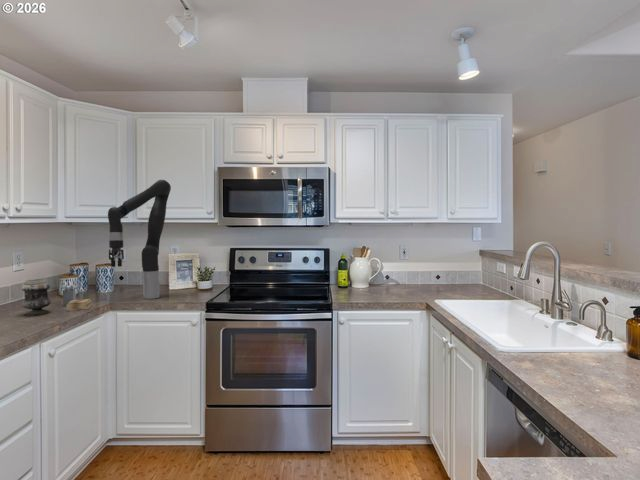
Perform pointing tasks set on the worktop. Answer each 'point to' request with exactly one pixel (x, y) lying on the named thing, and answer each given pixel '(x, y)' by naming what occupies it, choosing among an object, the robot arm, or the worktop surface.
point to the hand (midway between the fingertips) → (116, 266)
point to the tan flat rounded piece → (79, 304)
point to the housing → (68, 295)
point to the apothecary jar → (36, 296)
